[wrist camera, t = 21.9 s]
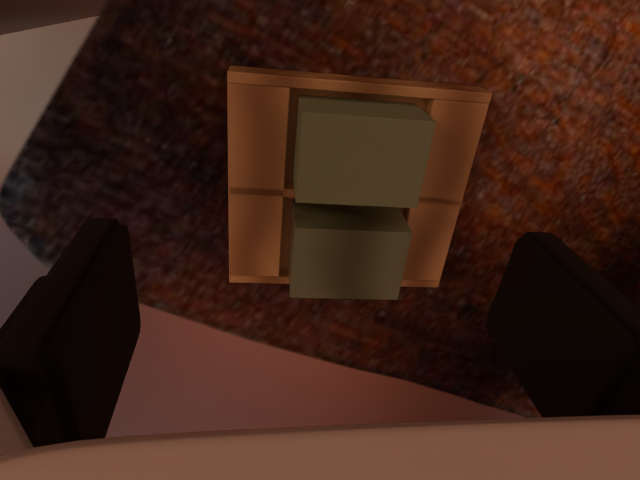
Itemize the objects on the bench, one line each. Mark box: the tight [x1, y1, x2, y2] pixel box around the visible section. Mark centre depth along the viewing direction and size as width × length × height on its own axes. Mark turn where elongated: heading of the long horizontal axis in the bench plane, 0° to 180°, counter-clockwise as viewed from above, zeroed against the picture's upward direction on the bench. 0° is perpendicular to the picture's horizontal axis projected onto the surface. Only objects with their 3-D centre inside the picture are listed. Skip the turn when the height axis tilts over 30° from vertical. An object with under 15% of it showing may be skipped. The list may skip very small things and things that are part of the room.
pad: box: [293, 95, 436, 208], centre depth 25 cm, size 7×5×4 cm
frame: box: [227, 65, 492, 300], centre depth 27 cm, size 15×14×5 cm
